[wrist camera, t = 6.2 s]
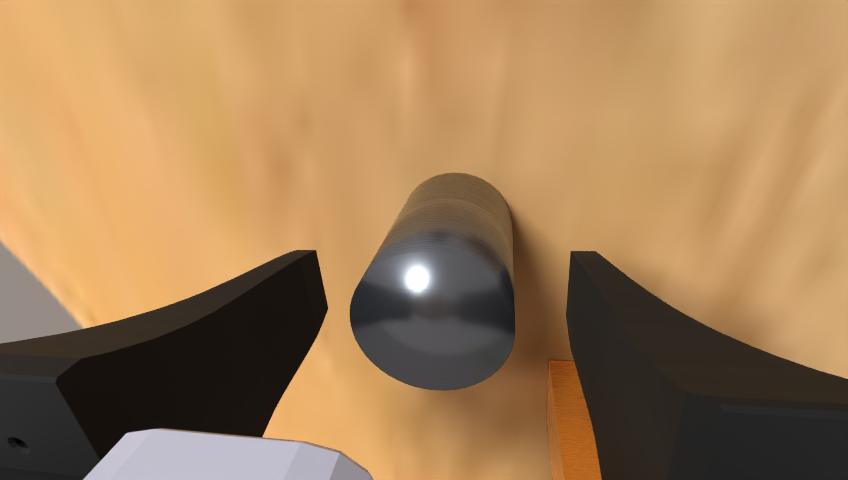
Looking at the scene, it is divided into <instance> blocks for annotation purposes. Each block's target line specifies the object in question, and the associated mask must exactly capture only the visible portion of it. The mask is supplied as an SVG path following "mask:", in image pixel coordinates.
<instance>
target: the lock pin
mask: <svg viewBox="0 0 848 480" xmlns="http://www.w3.org/2000/svg"><path fill="white" fill-rule="evenodd" d="M546 416H547V426H548V436H549V446H550V456H551V466H552V476H553V480H602V478H601V472H600V466H599V460H598V454H597V448H596V442H595V436H594V432H593V428H592V423H591V419H590V415H589V412H588V408H587V405H586V401H585V398H584V394H583V391H582V387H581V383H580V380H579V376H578V373H577V369H576V366H575V362H574V361H557V360H549V374H548V392H547V410H546Z"/></svg>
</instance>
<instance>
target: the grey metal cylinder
mask: <svg viewBox="0 0 848 480" xmlns="http://www.w3.org/2000/svg"><path fill="white" fill-rule="evenodd" d="M350 322H351V327H352V331H353V334H354V336H355V339H356V341H357V343H358V345H359V346H360V348H361V350H362V351H363V352H364V354H365V355H366V356H367V357H368V358H369V360H370V361H371V362H372V363H373V364H374V365H376V366H377V367H378V368H379V369H380V370H382V371H383V372H385V373H386V374H388V375H389V376H391V377H393V378H395V379H396V380H399V381H401V382H403V383H406V384H408V385H412V386H415V387H419V388H423V389H430V390H456V389H461V388H466V387H469V386H472V385H475V384H477V383H479V382H481V381H483V380H485V379H487V378H488V377H490V376H491V375H492V374H494V373H495V372H496V371H497V370H498V369H499V368H500V367H501V366H502V365H503V364H504V362H505V361H506V359H507V358H508V356H509V354H510V352H511V349H512V346H513V343H514V337H515V308H514V269H513V231H512V217H511V212H510V210H509V207H508V205H507V203H506V201H505V199H504V198H503V197H502V195H501V194H500V193H499V192H498V191H497V190H496V189H495V188H494V187H493V186H492V185H491V184H489V183H488V182H486V181H484V180H483V179H480V178H478V177H476V176H472V175H469V174H463V173H446V174H442V175H438V176H435V177H432V178H430V179H428V180H426V181H425V182H423V183H422V184H420V185H419V186H418V187H417V188H416V189H415V190H414V191H413V192H412V194H411V195H410V197H409V198H408V200H407V202H406V203H405V205H404V207H403V209H402V210H401V212H400V214H399V215H398V217H397V219H396V221H395V222H394V224H393V226H392V228H391V229H390V231H389V233H388V234H387V236H386V238H385V240H384V241H383V243H382V245H381V246H380V248H379V250H378V252H377V253H376V255H375V257H374V258H373V260H372V262H371V264H370V265H369V267H368V269H367V270H366V272H365V274H364V276H363V277H362V279H361V281H360V283H359V284H358V286H357V288H356V289H355V292H354V294H353V297H352V300H351V305H350Z"/></svg>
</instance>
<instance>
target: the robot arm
mask: <svg viewBox="0 0 848 480" xmlns="http://www.w3.org/2000/svg"><path fill="white" fill-rule="evenodd" d="M327 310H328V305H327V300H326V296H325V291H324V286H323V281H322V277H321V272H320V267H319V262H318V258H317V253H316V250H296V251H292V252H290V253H287V254H284V255H282V256H280V257H278V258H275V259H273V260H271V261H269V262H267V263H265V264H263V265H261V266H259V267H257V268H254V269H252V270H250V271H248V272H246V273H244V274H242V275H240V276H238V277H236V278H234V279H231V280H229V281H227V282H225V283H222V284H220V285H218V286H216V287H214V288H211V289H209V290H207V291H205V292H202V293H200V294H197V295H195V296H192V297H190V298H187V299H185V300H182V301H179V302H176V303H174V304H171V305H168V306H165V307H162V308H159V309H156V310H153V311H149V312H146V313H143V314H139V315H136V316H132V317H129V318H126V319H122V320H119V321H115V322H111V323H107V324H103V325H99V326H95V327H90V328H86V329H81V330H77V331H72V332H67V333H62V334H57V335H51V336H45V337H39V338H33V339H27V340H22V341H16V342H9V343H2V344H0V480H373V478H372V476H371V475H370V473H369V472H368V471H367V470H366V469H365V468H363V467H362V466H360V465H359V464H358V463H356V462H355V461H353V460H352V459H351V458H349V457H348V456H346V455H345V454H343V453H342V452H341V451H338V450H335V449H331V448H328V447H324V446H320V445H317V444H313V443H310V442H306V441H295V440H284V439H273V438H262V436H263V434H264V432H265V430H266V428H267V425H268V423H269V421H270V419H271V417H272V414H273V412H274V410H275V408H276V406H277V404H278V403H279V401H280V399H281V397H282V395H283V394H284V392H285V390H286V389H287V387H288V385H289V383H290V382H291V380H292V378H293V377H294V375H295V373H296V372H297V370H298V368H299V367H300V365H301V363H302V362H303V360H304V358H305V357H306V355H307V353H308V351H309V350H310V348H311V346H312V344H313V343H314V341H315V339H316V337H317V335H318V333H319V331H320V328H321V326H322V323H323V321H324V318H325V315H326V313H327ZM566 318H567V326H568V334H569V341H570V347H571V351H572V355H573V358H574V362H575V366H576V369H577V373H578V376H579V380H580V383H581V387H582V391H583V394H584V398H585V401H586V405H587V408H588V412H589V415H590V419H591V423H592V428H593V432H594V436H595V442H596V448H597V454H598V460H599V466H600V472H601V478H602V480H848V379H845V378H842V377H839V376H835V375H832V374H828V373H825V372H821V371H818V370H815V369H812V368H809V367H806V366H803V365H800V364H798V363H795V362H792V361H789V360H786V359H783V358H781V357H778V356H775V355H772V354H770V353H767V352H765V351H762V350H760V349H757V348H754V347H752V346H750V345H747V344H745V343H743V342H740V341H738V340H736V339H734V338H731V337H729V336H727V335H724V334H722V333H720V332H718V331H716V330H714V329H712V328H710V327H708V326H706V325H704V324H702V323H700V322H698V321H696V320H694V319H693V318H691V317H689V316H687V315H685V314H683V313H681V312H680V311H678V310H676V309H675V308H673V307H671V306H670V305H668V304H667V303H665V302H663V301H662V300H660V299H659V298H657V297H656V296H654V295H653V294H651V293H650V292H648V291H647V290H645V289H644V288H643V287H641V286H640V285H638V284H637V283H636V282H634V281H633V280H632V279H630V278H629V277H628V276H626V275H625V274H624V273H623V272H621V271H620V270H619V269H618V268H616V267H615V266H614V265H612V264H611V263H610V262H609V261H608V260H606V259H605V258H604V257H602V256H601V255H600V254H598V253H597V252H596V251H571V256H570V269H569V283H568V297H567V311H566Z"/></svg>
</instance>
